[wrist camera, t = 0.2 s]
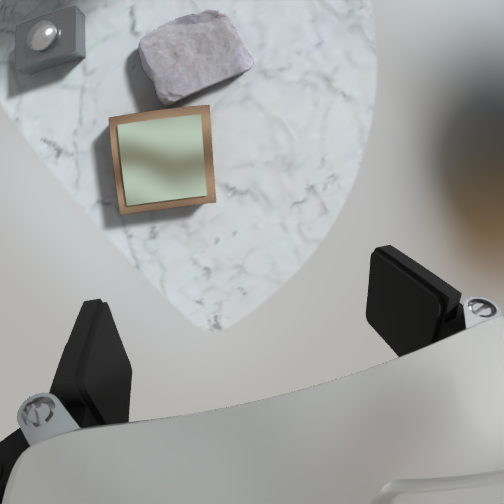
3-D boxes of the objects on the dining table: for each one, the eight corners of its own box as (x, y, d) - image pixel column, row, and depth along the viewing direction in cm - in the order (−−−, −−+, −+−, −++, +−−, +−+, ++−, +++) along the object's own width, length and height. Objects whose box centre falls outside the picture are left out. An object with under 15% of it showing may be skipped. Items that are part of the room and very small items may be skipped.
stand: (115, 118, 34) (107, 117, 30) (206, 107, 36) (209, 104, 32) (125, 206, 38) (119, 215, 34) (212, 194, 40) (216, 203, 36)
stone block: (133, 52, 33) (166, 115, 35) (126, 37, 28) (162, 105, 30) (219, 15, 33) (254, 74, 36) (222, -3, 29) (262, 60, 31)
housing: (29, 34, 26) (12, 24, 21) (85, 16, 27) (73, 2, 22) (29, 74, 28) (10, 69, 23) (85, 57, 30) (72, 48, 25)
